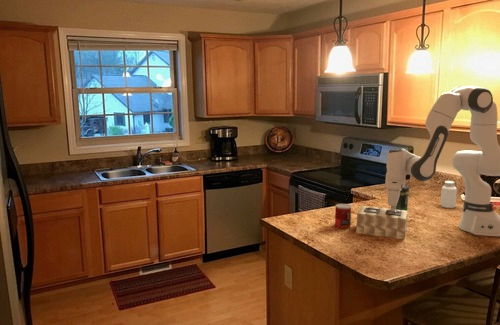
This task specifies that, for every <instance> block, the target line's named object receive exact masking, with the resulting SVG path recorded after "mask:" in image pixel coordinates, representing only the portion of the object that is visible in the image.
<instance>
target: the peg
mask: <svg viewBox="0 0 500 325" xmlns="http://www.w3.org/2000/svg"><path fill="white" fill-rule="evenodd" d="M389 213H390V214H398V210H395V211H391V210H389Z"/></svg>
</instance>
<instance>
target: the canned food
mask: <svg viewBox="0 0 500 325" xmlns="http://www.w3.org/2000/svg"><path fill="white" fill-rule="evenodd" d="M334 210H335V215H334V226H335V227H336V228H337V229H341V230H348V229H350V228H351V220H352V205H351V204H348V203H337V204H335V209H334Z"/></svg>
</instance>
